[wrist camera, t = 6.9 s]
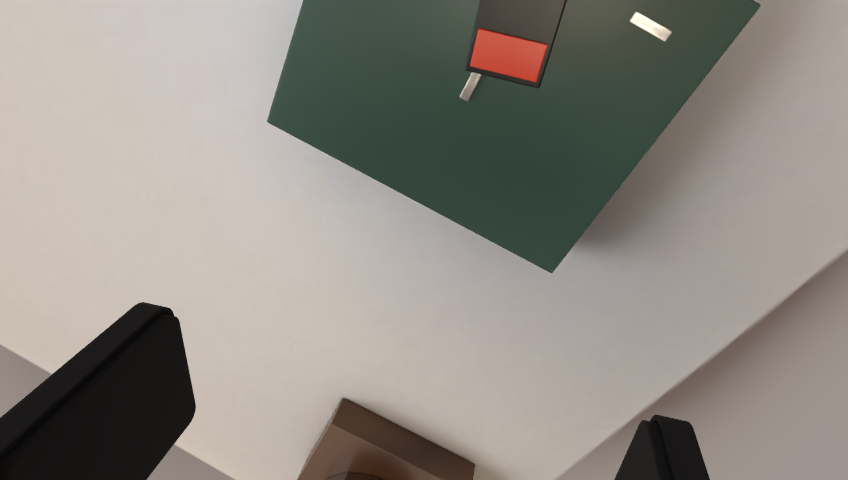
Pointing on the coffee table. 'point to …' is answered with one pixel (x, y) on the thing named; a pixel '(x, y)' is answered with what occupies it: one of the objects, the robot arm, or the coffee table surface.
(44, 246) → the coffee table surface
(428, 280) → the coffee table surface
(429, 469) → the button block
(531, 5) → the black and red block
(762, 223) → the coffee table surface
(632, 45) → the green block
